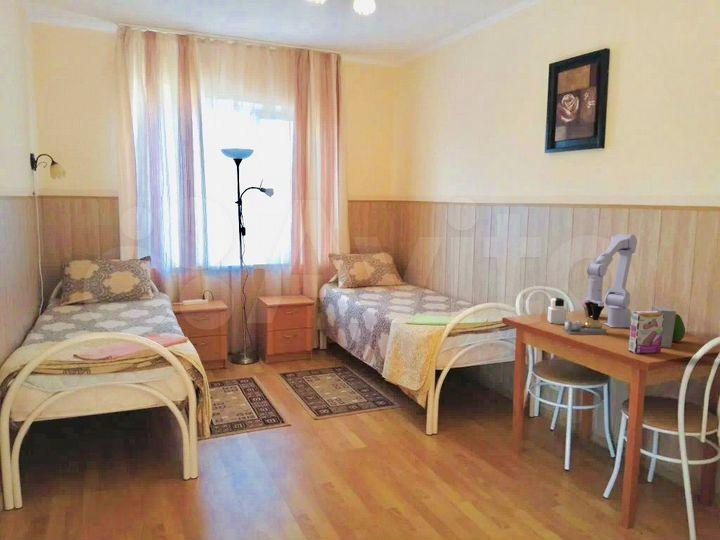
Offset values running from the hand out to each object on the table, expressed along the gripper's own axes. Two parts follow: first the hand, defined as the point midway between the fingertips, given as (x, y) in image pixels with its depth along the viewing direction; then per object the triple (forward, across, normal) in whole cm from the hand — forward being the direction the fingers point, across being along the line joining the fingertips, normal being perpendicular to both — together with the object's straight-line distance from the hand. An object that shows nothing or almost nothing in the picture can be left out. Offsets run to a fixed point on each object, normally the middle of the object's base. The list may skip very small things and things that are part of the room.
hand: (593, 318), depth 249 cm
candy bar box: (+6, +33, +7) cm, 34 cm away
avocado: (+6, +16, +28) cm, 33 cm away
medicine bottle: (+6, -19, -10) cm, 22 cm away
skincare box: (+6, +22, +19) cm, 30 cm away
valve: (+5, 0, 0) cm, 5 cm away
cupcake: (+6, -32, +12) cm, 35 cm away
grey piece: (+6, 0, -4) cm, 7 cm away
